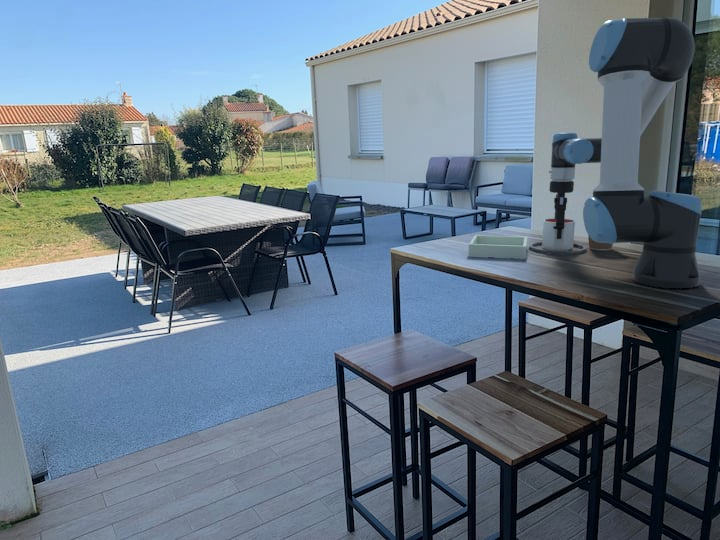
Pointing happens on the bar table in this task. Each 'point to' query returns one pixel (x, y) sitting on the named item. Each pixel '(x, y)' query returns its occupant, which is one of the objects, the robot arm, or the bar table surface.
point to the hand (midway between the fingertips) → (557, 244)
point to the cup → (550, 234)
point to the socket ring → (582, 250)
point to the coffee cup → (599, 245)
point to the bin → (498, 247)
